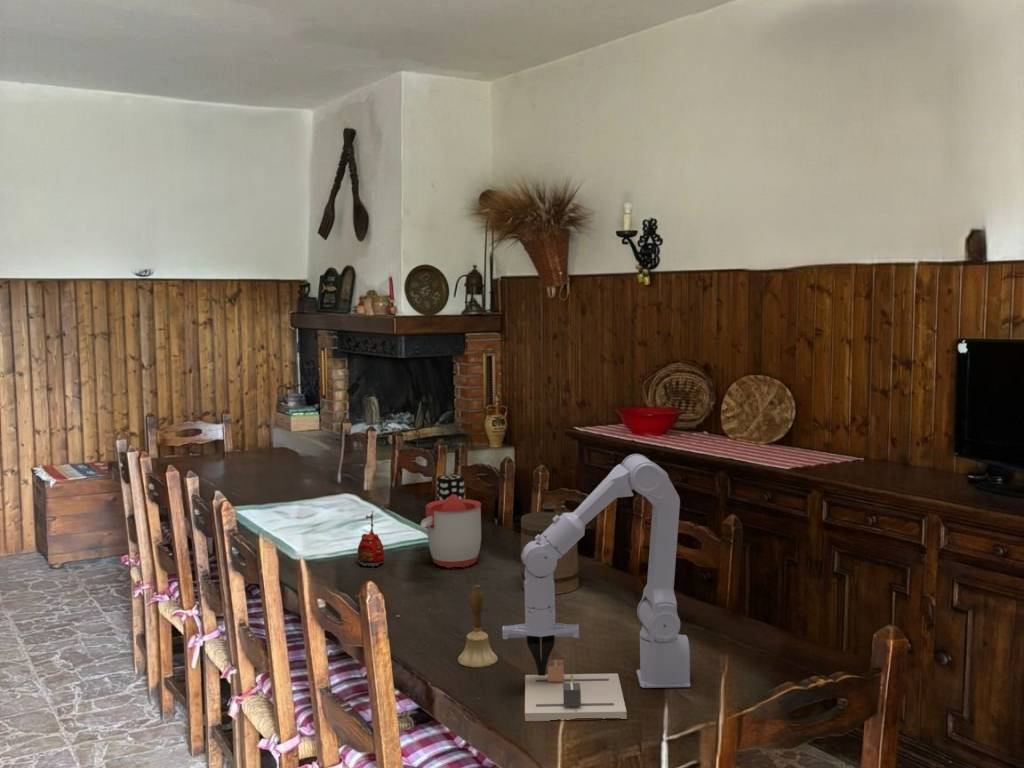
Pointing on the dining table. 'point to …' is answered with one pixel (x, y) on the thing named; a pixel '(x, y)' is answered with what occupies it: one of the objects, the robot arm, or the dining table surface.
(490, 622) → the dining table surface
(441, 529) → the citrus juicer
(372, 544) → the red clay folk toy
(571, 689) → the fader charcoal
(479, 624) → the hand bell
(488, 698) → the dining table surface
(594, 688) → the console
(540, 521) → the wooden container
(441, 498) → the spotted tube
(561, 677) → the fader terracotta
